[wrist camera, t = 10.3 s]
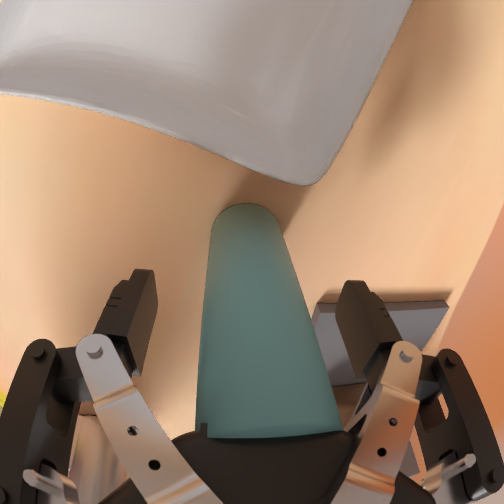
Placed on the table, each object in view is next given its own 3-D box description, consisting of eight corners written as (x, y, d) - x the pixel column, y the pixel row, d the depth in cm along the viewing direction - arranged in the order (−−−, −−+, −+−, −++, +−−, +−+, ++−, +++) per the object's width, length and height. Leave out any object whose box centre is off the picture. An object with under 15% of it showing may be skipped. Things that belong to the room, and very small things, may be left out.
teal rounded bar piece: (210, 263, 17) (200, 467, 7) (212, 201, 15) (186, 424, 5) (275, 265, 17) (320, 460, 7) (284, 205, 15) (368, 411, 5)
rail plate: (272, 420, 30) (273, 427, 29) (316, 303, 19) (319, 312, 19) (366, 410, 31) (367, 416, 30) (444, 300, 21) (449, 307, 20)
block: (285, 428, 29) (290, 463, 25) (306, 389, 24) (315, 435, 19) (358, 419, 30) (367, 450, 26) (393, 378, 25) (408, 416, 20)
